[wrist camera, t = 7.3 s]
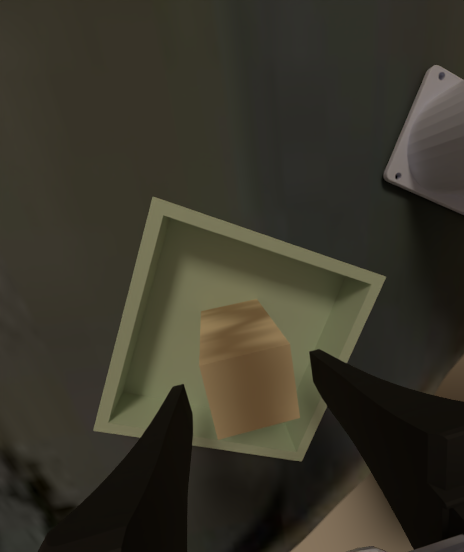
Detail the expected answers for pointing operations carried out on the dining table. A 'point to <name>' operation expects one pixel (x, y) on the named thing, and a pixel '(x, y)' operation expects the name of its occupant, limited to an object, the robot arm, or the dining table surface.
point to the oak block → (246, 369)
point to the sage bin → (217, 293)
